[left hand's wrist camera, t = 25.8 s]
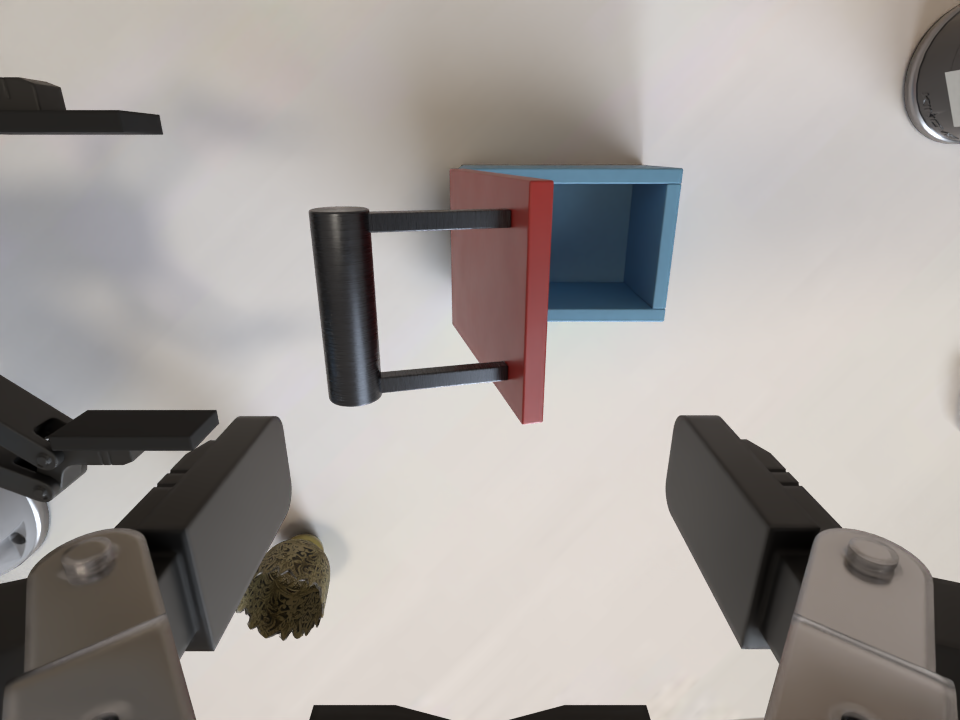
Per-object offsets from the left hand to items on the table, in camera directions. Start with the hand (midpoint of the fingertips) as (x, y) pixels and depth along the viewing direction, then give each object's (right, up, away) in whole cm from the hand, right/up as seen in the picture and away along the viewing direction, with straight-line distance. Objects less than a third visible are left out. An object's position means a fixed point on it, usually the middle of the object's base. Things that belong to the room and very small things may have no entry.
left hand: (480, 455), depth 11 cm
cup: (-17, -16, +43) cm, 49 cm away
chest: (+6, +12, +32) cm, 34 cm away
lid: (+1, +6, +16) cm, 18 cm away
